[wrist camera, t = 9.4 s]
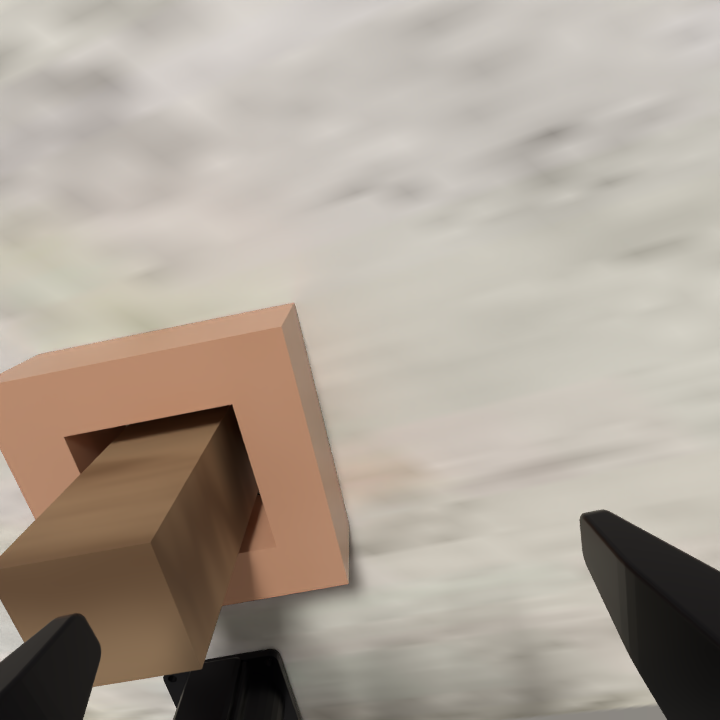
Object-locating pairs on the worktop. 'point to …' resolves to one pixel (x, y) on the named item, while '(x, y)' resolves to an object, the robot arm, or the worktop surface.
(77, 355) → the frame
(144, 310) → the worktop surface
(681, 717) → the robot arm
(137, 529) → the walnut peg
